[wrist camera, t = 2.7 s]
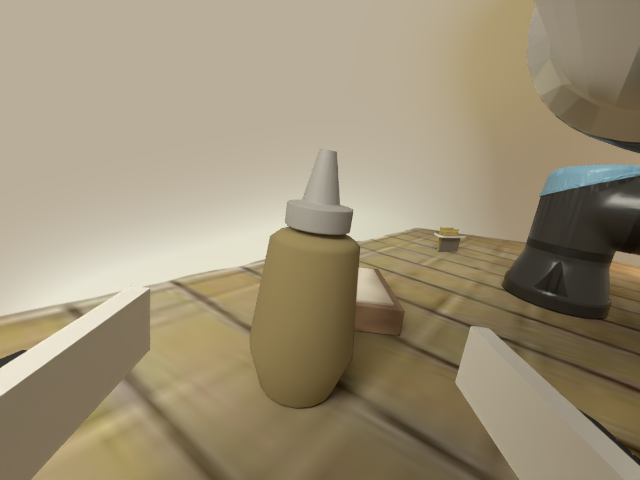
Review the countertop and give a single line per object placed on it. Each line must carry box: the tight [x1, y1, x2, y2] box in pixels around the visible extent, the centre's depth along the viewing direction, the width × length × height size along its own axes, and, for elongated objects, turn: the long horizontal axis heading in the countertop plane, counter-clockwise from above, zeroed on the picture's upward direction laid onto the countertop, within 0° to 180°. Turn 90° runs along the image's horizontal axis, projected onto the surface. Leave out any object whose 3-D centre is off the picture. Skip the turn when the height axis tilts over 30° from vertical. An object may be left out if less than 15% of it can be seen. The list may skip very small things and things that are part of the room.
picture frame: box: [354, 267, 405, 336], centre depth 39 cm, size 14×14×3 cm
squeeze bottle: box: [250, 149, 360, 408], centre depth 22 cm, size 8×8×18 cm
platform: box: [434, 228, 466, 252], centre depth 81 cm, size 12×18×7 cm, turn 120°
